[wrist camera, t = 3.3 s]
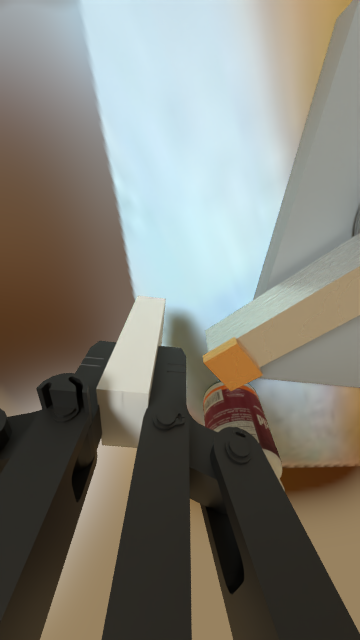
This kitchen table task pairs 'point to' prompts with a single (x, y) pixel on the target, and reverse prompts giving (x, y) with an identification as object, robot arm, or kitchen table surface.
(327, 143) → the stand board
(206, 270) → the kitchen table surface
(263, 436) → the pill bottle
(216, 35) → the kitchen table surface
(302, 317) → the silver ladle
